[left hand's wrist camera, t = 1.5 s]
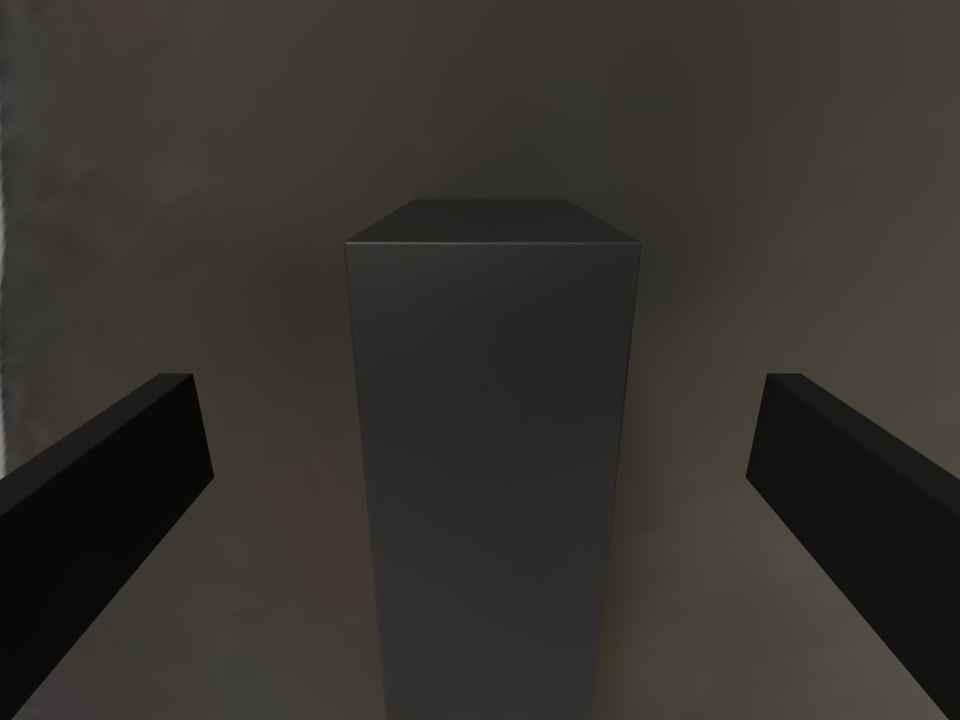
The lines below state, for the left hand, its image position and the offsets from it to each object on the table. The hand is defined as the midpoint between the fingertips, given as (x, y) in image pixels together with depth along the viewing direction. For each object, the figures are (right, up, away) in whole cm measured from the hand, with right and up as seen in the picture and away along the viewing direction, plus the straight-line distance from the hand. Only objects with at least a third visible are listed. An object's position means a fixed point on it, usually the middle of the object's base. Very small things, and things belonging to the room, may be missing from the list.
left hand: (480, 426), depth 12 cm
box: (0, -6, +14) cm, 15 cm away
